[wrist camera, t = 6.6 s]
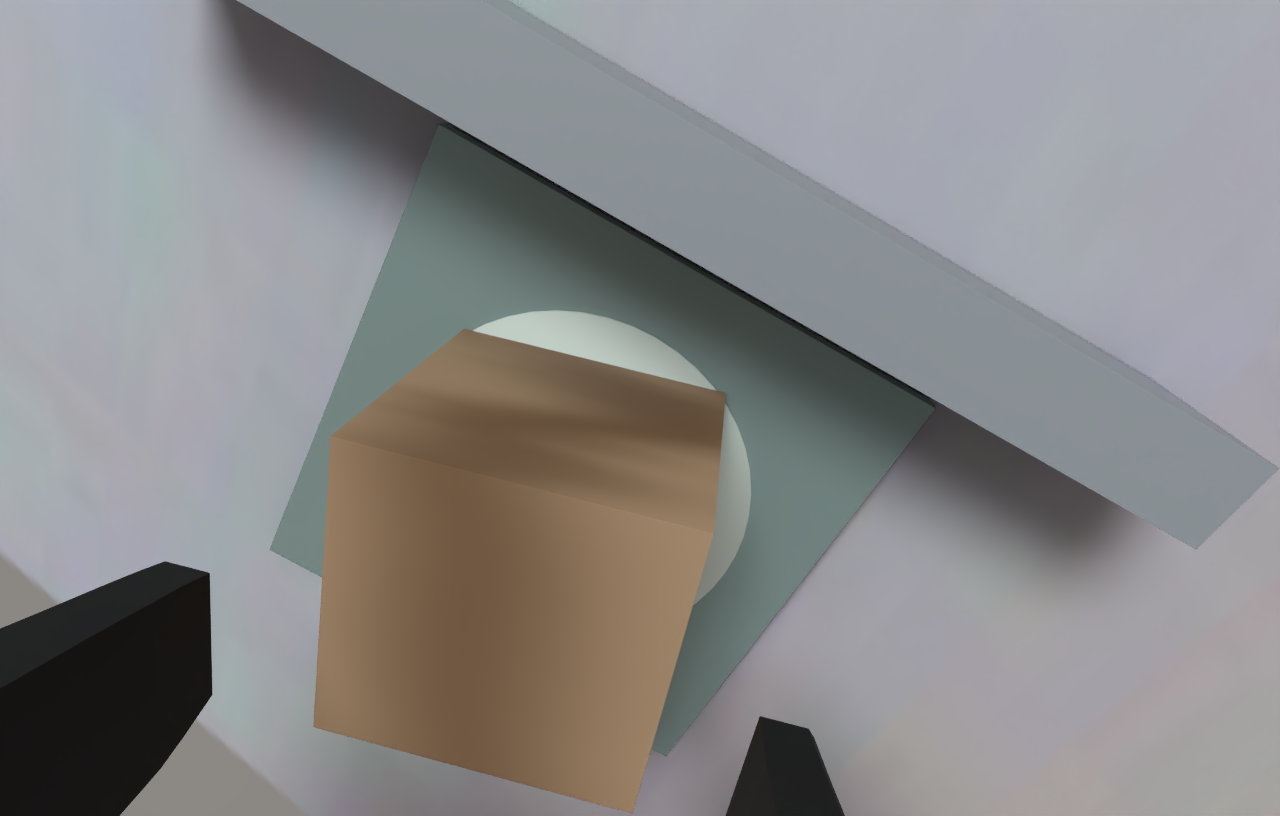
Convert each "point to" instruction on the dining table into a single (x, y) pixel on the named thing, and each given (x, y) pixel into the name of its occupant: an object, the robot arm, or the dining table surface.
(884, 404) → the mat
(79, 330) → the dining table surface
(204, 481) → the dining table surface
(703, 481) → the walnut block
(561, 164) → the low wall
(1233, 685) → the dining table surface
